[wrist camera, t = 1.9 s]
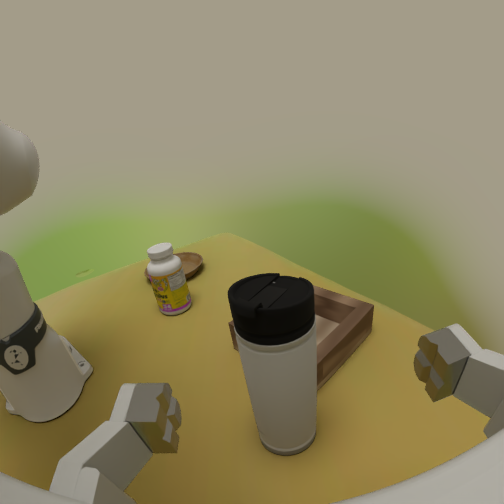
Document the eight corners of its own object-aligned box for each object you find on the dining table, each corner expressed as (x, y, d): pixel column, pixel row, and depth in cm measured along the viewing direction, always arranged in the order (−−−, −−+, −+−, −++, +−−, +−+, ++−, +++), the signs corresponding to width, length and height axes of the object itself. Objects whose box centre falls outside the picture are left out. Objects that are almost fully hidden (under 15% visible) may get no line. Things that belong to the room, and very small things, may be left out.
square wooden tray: (234, 348, 44) (228, 323, 42) (297, 303, 53) (295, 279, 51) (313, 394, 34) (312, 368, 32) (371, 331, 43) (373, 305, 41)
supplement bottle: (154, 309, 58) (136, 250, 53) (180, 294, 62) (165, 238, 57) (171, 321, 53) (151, 258, 48) (198, 305, 57) (183, 243, 52)
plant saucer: (141, 293, 65) (138, 283, 64) (153, 266, 79) (151, 257, 78) (203, 283, 66) (200, 273, 65) (206, 257, 79) (204, 248, 78)
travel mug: (247, 445, 28) (204, 297, 20) (278, 406, 33) (256, 257, 25) (297, 466, 25) (285, 318, 17) (325, 422, 29) (327, 268, 22)
